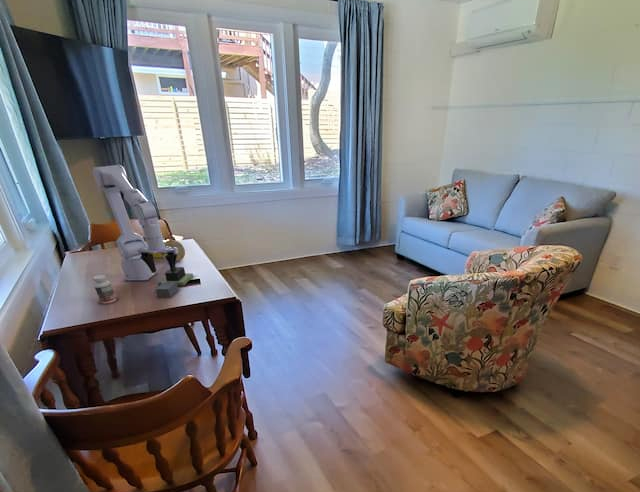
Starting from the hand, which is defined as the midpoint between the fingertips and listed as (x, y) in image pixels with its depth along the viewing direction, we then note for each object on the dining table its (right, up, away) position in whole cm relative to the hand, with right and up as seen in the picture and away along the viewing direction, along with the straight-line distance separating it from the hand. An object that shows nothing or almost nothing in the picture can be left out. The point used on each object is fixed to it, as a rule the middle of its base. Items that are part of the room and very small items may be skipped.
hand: (164, 271), depth 153 cm
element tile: (-25, +18, +45) cm, 55 cm away
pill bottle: (-20, -12, -2) cm, 23 cm away
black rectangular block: (-1, 0, +13) cm, 13 cm away
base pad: (-1, -1, +14) cm, 14 cm away
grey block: (0, -8, +3) cm, 8 cm away
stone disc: (-12, +12, +35) cm, 38 cm away
